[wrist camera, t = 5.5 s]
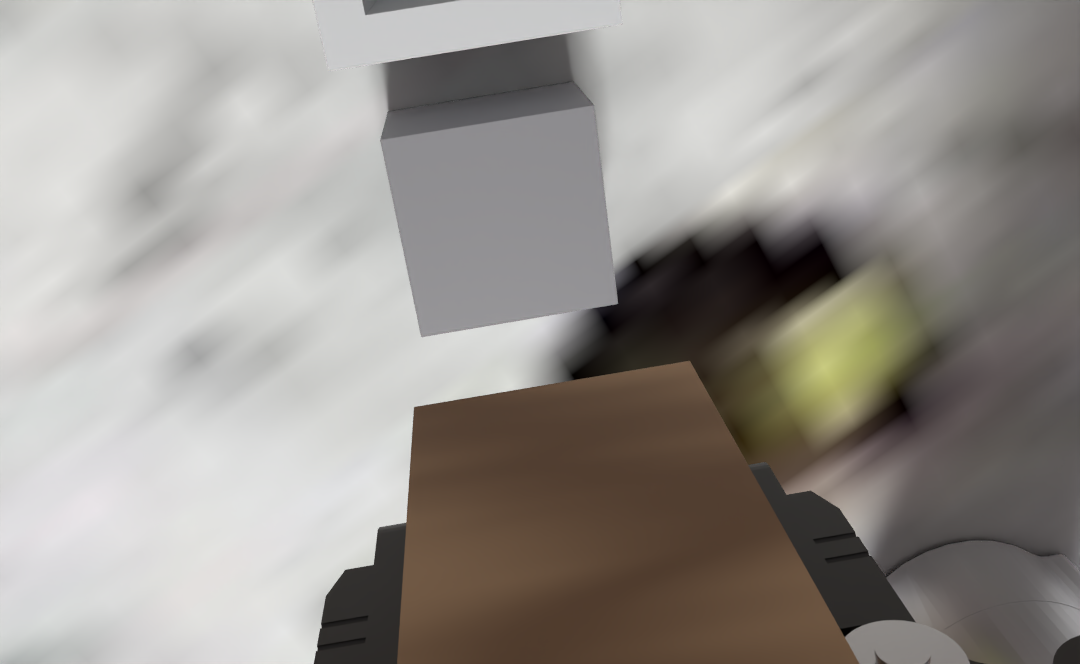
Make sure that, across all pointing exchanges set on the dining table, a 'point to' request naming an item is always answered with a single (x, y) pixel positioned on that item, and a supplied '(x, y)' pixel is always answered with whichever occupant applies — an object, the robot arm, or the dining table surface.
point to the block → (599, 534)
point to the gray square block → (500, 207)
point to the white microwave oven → (445, 25)
